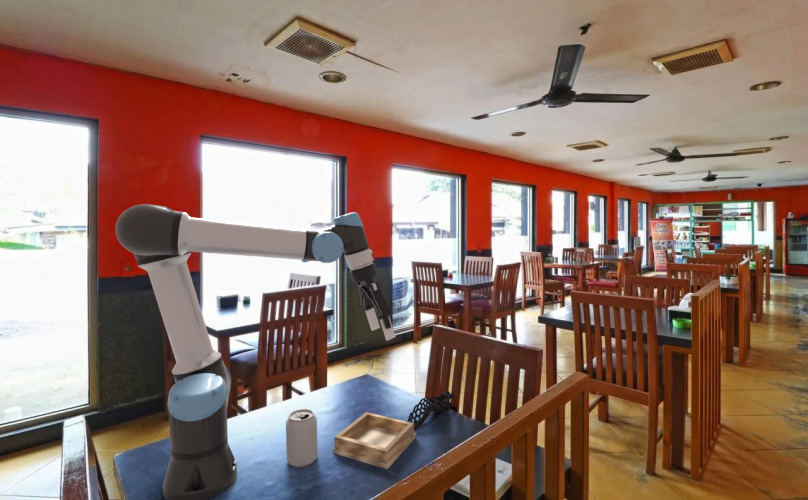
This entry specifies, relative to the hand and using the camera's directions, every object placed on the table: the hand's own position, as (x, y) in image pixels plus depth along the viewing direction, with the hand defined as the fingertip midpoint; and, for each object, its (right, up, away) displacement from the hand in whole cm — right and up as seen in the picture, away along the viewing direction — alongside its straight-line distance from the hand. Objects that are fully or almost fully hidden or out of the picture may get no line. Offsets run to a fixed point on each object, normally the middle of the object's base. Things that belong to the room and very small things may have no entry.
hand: (382, 333), depth 119 cm
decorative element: (+15, -27, +5) cm, 31 cm away
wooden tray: (-1, -27, -12) cm, 30 cm away
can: (-19, -28, -18) cm, 39 cm away
